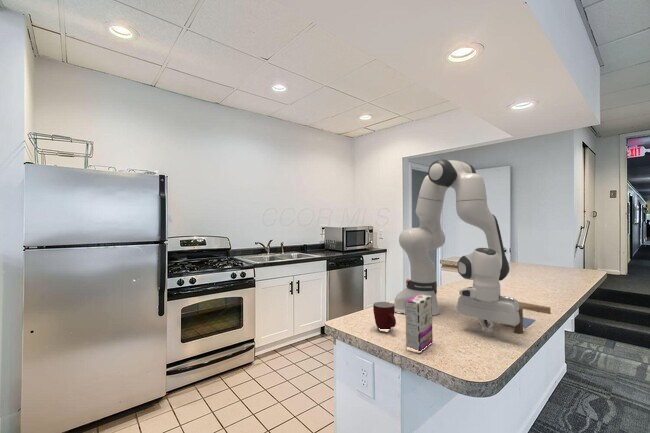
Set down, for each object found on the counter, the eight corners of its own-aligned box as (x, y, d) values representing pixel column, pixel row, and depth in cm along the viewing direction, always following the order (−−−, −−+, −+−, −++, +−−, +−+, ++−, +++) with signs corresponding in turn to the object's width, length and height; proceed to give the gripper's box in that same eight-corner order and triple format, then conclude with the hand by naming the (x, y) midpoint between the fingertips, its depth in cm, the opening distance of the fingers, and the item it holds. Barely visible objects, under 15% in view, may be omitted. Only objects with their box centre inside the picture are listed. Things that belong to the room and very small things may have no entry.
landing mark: (525, 327, 117) (525, 327, 117) (490, 319, 127) (490, 319, 127) (535, 320, 125) (535, 319, 125) (501, 313, 135) (501, 312, 135)
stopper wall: (549, 313, 134) (549, 308, 134) (509, 306, 146) (509, 301, 146) (550, 312, 135) (550, 307, 135) (510, 305, 147) (510, 300, 147)
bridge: (520, 334, 110) (519, 309, 111) (479, 324, 121) (479, 301, 122) (523, 332, 112) (522, 307, 113) (482, 322, 123) (482, 300, 124)
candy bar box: (419, 339, 107) (418, 293, 107) (433, 343, 103) (432, 295, 103) (405, 350, 98) (404, 300, 98) (419, 354, 95) (419, 302, 95)
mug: (404, 333, 113) (404, 306, 113) (388, 338, 108) (388, 310, 108) (384, 325, 121) (383, 300, 122) (369, 329, 117) (368, 303, 117)
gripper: (522, 297, 103) (522, 337, 103) (462, 287, 118) (463, 322, 118) (516, 300, 99) (516, 342, 99) (455, 290, 114) (455, 326, 114)
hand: (487, 331), depth 109 cm, fingers closed
